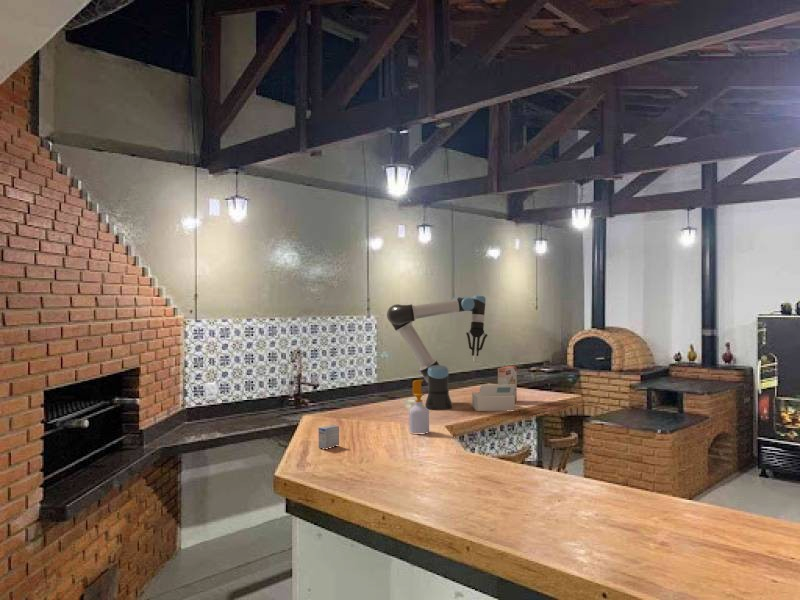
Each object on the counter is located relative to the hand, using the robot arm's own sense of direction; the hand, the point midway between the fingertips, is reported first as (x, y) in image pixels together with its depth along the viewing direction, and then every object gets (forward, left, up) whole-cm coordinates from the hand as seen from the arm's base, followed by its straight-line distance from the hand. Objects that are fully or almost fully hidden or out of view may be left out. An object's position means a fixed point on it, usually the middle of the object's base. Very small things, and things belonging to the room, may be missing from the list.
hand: (474, 361), depth 342 cm
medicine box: (-76, -99, -25) cm, 127 cm away
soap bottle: (-37, -75, -25) cm, 87 cm away
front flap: (+7, -32, -12) cm, 35 cm away
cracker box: (+19, 0, -25) cm, 31 cm away
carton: (+7, -19, -25) cm, 32 cm away
